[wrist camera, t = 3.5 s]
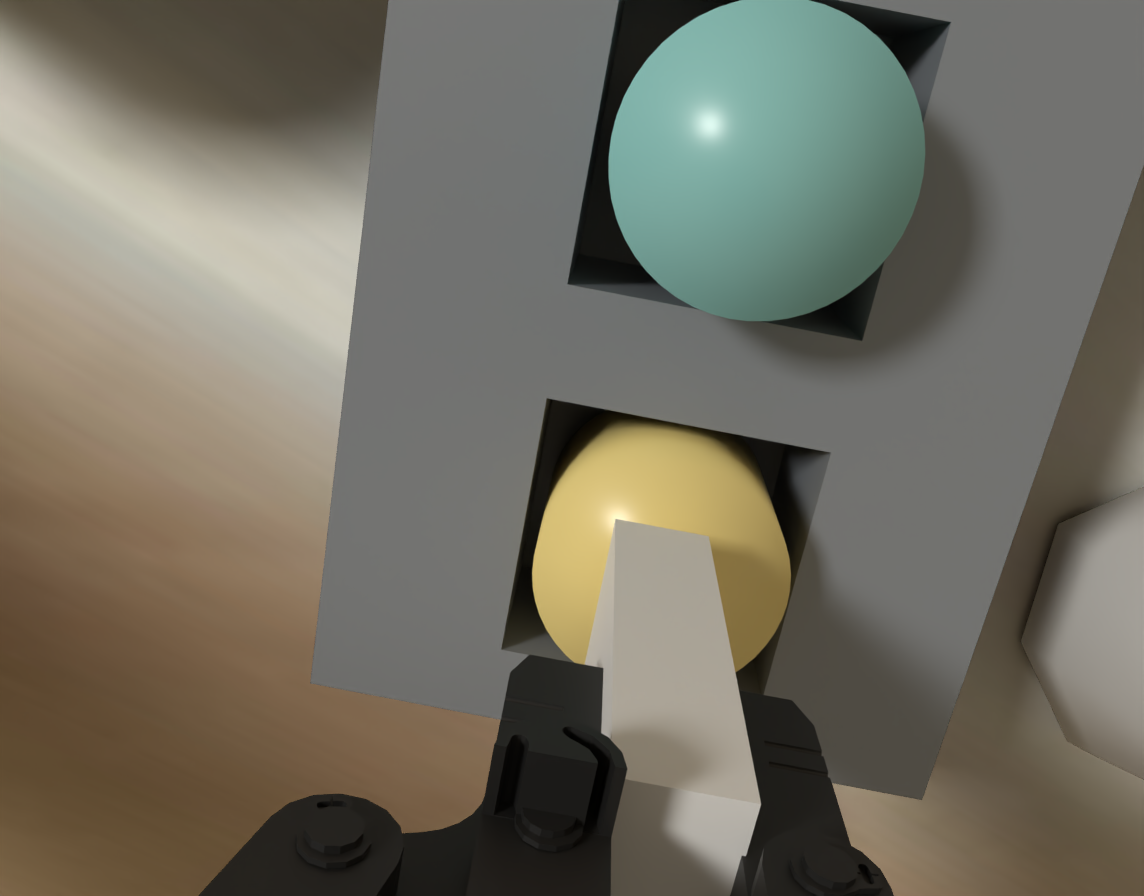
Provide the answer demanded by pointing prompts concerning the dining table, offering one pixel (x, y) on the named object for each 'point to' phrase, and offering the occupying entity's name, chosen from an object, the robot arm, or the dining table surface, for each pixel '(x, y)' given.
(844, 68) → the teal button
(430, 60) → the console
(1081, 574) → the flask
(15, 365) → the dining table surface
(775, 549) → the mustard button
